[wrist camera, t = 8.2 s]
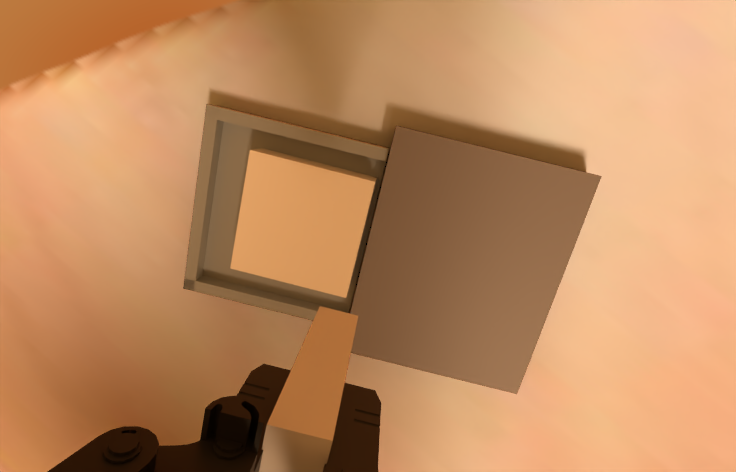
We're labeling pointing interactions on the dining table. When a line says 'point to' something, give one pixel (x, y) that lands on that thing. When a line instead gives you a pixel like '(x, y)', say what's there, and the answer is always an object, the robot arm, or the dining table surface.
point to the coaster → (301, 221)
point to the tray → (223, 200)
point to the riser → (465, 258)
